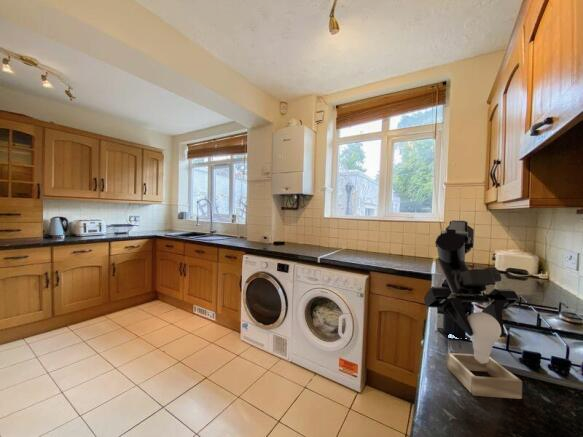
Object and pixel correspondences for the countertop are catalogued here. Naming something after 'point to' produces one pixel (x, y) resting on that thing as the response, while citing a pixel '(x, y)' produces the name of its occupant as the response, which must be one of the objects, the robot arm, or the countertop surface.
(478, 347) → the lightbulb
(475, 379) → the tray
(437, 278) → the countertop surface
